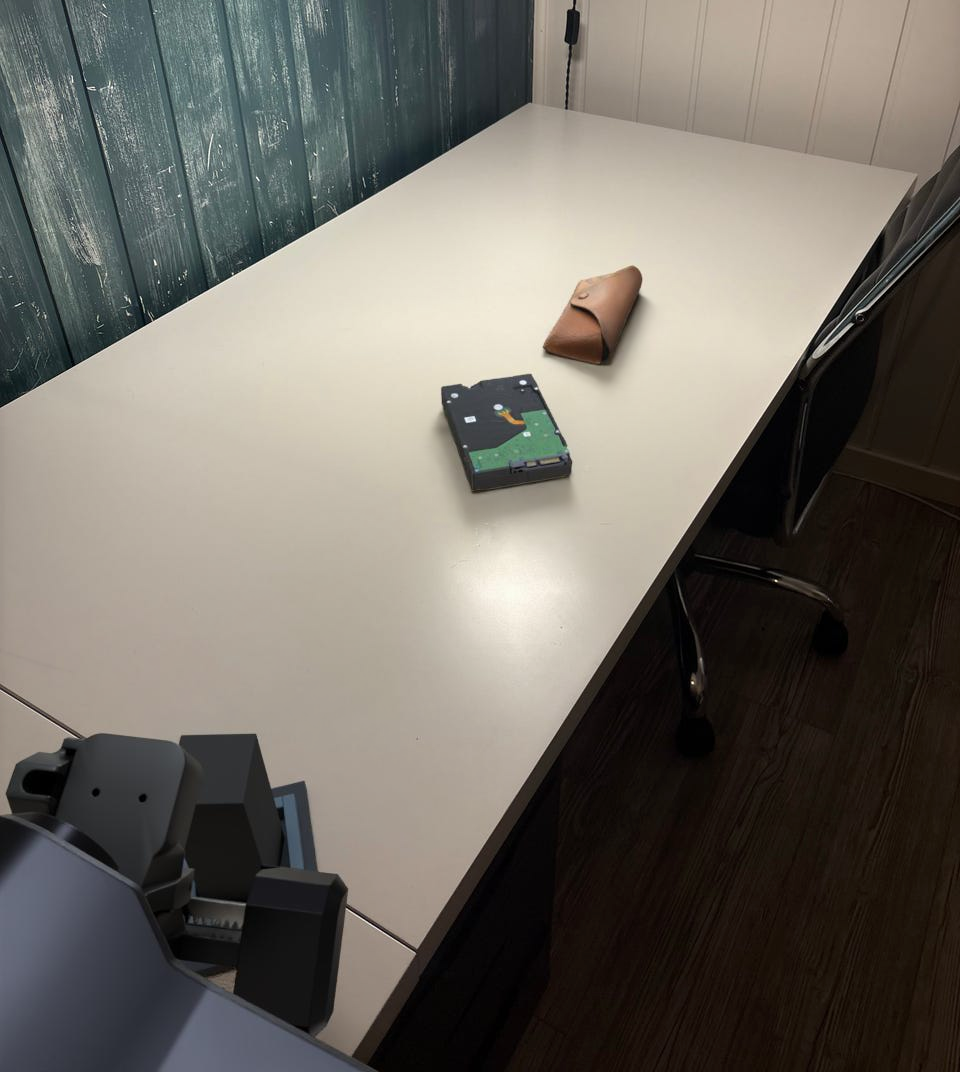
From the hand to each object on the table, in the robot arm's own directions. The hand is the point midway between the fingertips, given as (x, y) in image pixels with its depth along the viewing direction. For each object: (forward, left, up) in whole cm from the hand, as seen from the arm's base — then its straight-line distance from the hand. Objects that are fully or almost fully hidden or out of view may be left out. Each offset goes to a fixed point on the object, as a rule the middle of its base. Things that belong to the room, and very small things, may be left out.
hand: (191, 879), depth 50 cm
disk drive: (+46, -30, -13) cm, 56 cm away
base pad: (+6, -1, -13) cm, 14 cm away
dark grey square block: (+6, -1, -12) cm, 13 cm away
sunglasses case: (+65, -47, -13) cm, 81 cm away
